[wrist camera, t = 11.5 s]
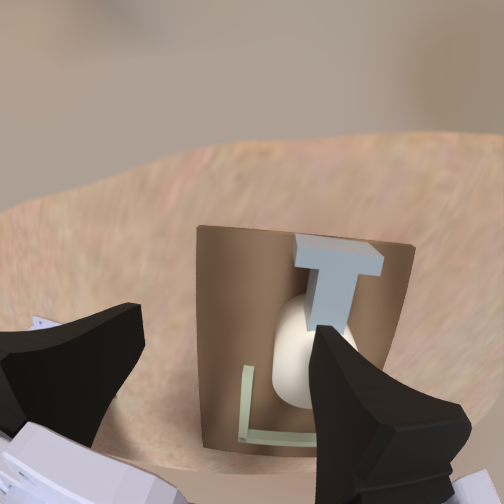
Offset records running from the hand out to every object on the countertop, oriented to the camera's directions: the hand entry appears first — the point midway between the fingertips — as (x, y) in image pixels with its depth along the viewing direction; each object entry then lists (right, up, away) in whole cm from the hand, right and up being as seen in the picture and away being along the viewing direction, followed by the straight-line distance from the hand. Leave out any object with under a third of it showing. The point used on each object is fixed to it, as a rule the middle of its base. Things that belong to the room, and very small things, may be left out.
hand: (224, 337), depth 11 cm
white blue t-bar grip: (+5, 0, +8) cm, 10 cm away
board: (+4, -6, +11) cm, 14 cm away
